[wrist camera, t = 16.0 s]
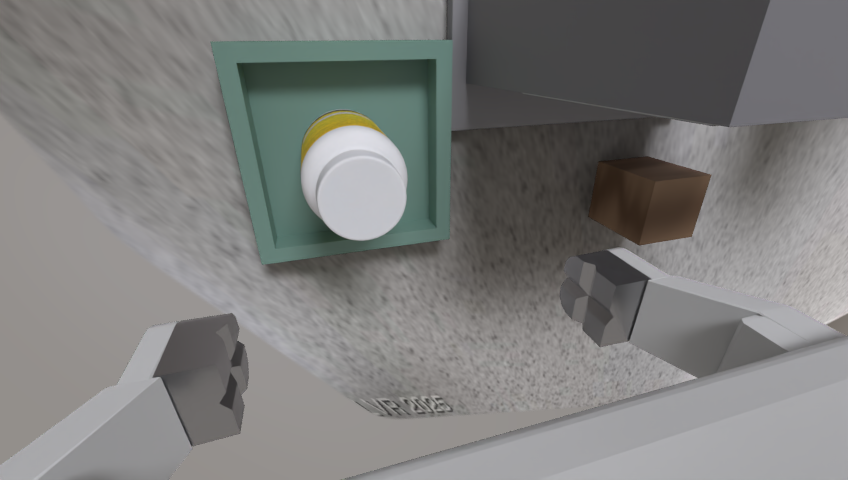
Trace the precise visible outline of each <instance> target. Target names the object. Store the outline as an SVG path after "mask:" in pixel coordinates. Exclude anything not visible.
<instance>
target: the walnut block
mask: <svg viewBox="0 0 848 480" xmlns="http://www.w3.org/2000/svg"><path fill="white" fill-rule="evenodd" d="M710 178H711V175H710V174H706V173H703V172H700V171H696V170H693V169H689V168H686V167H682V166H679V165H675V164H672V163H669V162H665V161H662V160H658V159H655V158H651V157H638V158H628V159H618V160H608V161H599V162H598V167H597V173H596V178H595V184H594V189H593V194H592V200H591V205H590V211H589V216H588V217H590V218H591V219H593V220H595V221H597V222H599V223H600V224H602V225H604V226H606V227H607V228H609V229H611V230H613V231H615V232H616V233H618V234H620V235H622V236H623V237H625V238H627V239H629V240H631V241H632V242H634V243H636V244H638V245H644V244H650V243H656V242H662V241H668V240H674V239H680V238H686V237H692V234H693V231H694V228H695V225H696V221H697V218H698V215H699V212H700V209H701V206H702V203H703V200H704V196H705V193H706V190H707V187H708V184H709V181H710Z"/></svg>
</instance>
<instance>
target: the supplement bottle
mask: <svg viewBox="0 0 848 480" xmlns="http://www.w3.org/2000/svg"><path fill="white" fill-rule="evenodd" d="M300 178H301V185H302V191H303V194H304V197H305V199H306V201H307V203H308V205H309V206H310V208H311V209H312V210H313V212H314V213H315V214H316V215H317V216H318V217H319V218H321V219H322V220H323V221H324V223H325V224H326V225H327V226H328V227H329V228H330V229H331V230H332V231H333V232H334V233H336V234H338V235H339V236H341V237H344V238H347V239H350V240H356V241H365V240H371V239H375V238H378V237H380V236H382V235H384V234H386V233H387V232H389V231H390V230H391V229H392V228H393V227H394V226H395V225H396V224H397V223H398V222H399V220H400V219H401V217H402V215H403V212H404V210H405V206H406V199H407V195H406V189H407V181H408V176H407V169H406V165H405V162H404V159H403V157H402V155H401V153H400V151H399V150H398V148H397V147H396V146H395V145H394V144H393V142H392V141H391V140H390V139H389V138H388V137H387V136H386V135H385V134H384V133H383V132H382V131H381V130H380V129H379V127H378V126H377V125H376V124H375V123H374V122H373V121H372V120H371V119H369V118H368V117H367V116H365V115H363V114H361V113H359V112H356V111H353V110H348V109H338V110H332V111H329V112H326V113H324V114H322V115H321V116H319V117H318V118H317V119H315V120H314V121H313V122H312V124H311V125H310V126H309V127H308V129H307V131H306V133H305V135H304V138H303V141H302V148H301V171H300Z"/></svg>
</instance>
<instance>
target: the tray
mask: <svg viewBox="0 0 848 480" xmlns="http://www.w3.org/2000/svg"><path fill="white" fill-rule="evenodd" d="M211 46H212V51H213V55H214V59H215V64H216V68H217V72H218V77H219V81H220V85H221V90H222V94H223V98H224V103H225V107H226V111H227V115H228V120H229V124H230V128H231V133H232V137H233V141H234V146H235V150H236V154H237V159H238V163H239V167H240V172H241V176H242V180H243V185H244V189H245V193H246V198H247V202H248V206H249V211H250V215H251V219H252V224H253V228H254V232H255V237H256V241H257V245H258V250H259V254H260V258H261V263H262V265H264V264H272V263H279V262H286V261H293V260H301V259H308V258H315V257H322V256H330V255H337V254H344V253H351V252H359V251H366V250H373V249H380V248H388V247H395V246H402V245H409V244H417V243H424V242H431V241H438V240H445V239H450V178H451V115H452V52H453V40H361V41H226V42H211ZM338 109H348V110H353V111H356V112H359V113H361V114H363V115H365V116H367V117H368V118H369V119H371V120H372V121H373V122H374V123H375V124H376V125H377V126H378V127H379V129H380V130H381V131H382V132H383V133H384V134H385V135H386V136H387V137H388V138H389V139H390V140H391V141H392V142H393V144H394V145H395V146H396V147H397V148H398V150H399V151H400V153H401V155H402V157H403V159H404V162H405V165H406V169H407V176H408V181H407V189H406V195H407V199H406V206H405V210H404V212H403V215H402V217H401V219H400V220H399V222H398V223H397V224H396V225H395V226H394V227H393V228H392V229H391V230H390V231H389V232H387V233H386V234H384V235H382V236H380V237H378V238H375V239H371V240H365V241H356V240H350V239H347V238H344V237H341V236H339V235H338V234H336V233H334V232H333V231H332V230H331V229H330V228H329V227H328V226H327V225H326V224H325V223H324V221H323V220H322V219H321V218H319V217H318V216H317V215H316V214H315V213H314V212H313V210H312V209H311V208H310V206H309V205H308V203H307V201H306V199H305V197H304V194H303V191H302V185H301V178H300V171H301V148H302V141H303V138H304V135H305V133H306V131H307V129H308V127H309V126H310V125H311V124H312V122H313V121H314V120H315V119H317V118H318V117H319V116H321V115H322V114H324V113H326V112H329V111H332V110H338Z"/></svg>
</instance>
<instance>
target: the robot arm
mask: <svg viewBox="0 0 848 480" xmlns="http://www.w3.org/2000/svg"><path fill="white" fill-rule="evenodd" d="M564 272H565V274H566V275H567V278H566V280H565V281H564V282H563V284H562V285H561V290H560V300H561V304H562V307H563V309H564V310H565V312H566V313H567V314H568V316H569V317H570V318H571V319H573V320H576V321H578V322H580V323H582V327H583V331H584V332H585V333H586V334H587V335H588V336H589V337H590V338H591V339H592V340H593V341H594V342H595V343H596V344H597V345H598V346H599V347H603V346H608V345H613V344H617V343H622V342H627V341H629V343H631V344H633V345H635V346H637V347H639V348H641V349H642V350H644V351H646V352H648V353H650V354H652V355H654V356H656V357H658V358H660V359H662V360H664V361H666V362H668V363H670V364H672V365H674V366H676V367H678V368H680V369H681V370H683V371H685V372H687V373H689V374H691V375H693V376H695V377H697V379H693V380H690V381H686V382H683V383H679V384H676V385H672V386H669V387H665V388H661V389H658V390H654V391H651V392H647V393H644V394H640V395H637V396H633V397H630V398H626V399H623V400H619V401H616V402H612V403H609V404H605V405H602V406H598V407H595V408H592V409H588V410H584V411H581V412H577V413H574V414H571V415H567V416H563V417H560V418H556V419H553V420H549V421H545V422H542V423H538V424H535V425H531V426H528V427H525V428H521V429H517V430H514V431H510V432H507V433H504V434H500V435H496V436H493V437H490V438H486V439H482V440H479V441H475V442H472V443H468V444H465V445H461V446H458V447H454V448H451V449H447V450H444V451H440V452H437V453H433V454H430V455H426V456H423V457H419V458H416V459H412V460H409V461H406V462H402V463H398V464H395V465H391V466H388V467H384V468H381V469H377V470H374V471H370V472H367V473H363V474H360V475H356V476H352V477H349V478H345V479H342V480H848V336H846V335H844V334H842V333H840V332H838V331H837V330H834V329H833V328H831V327H829V326H827V325H825V324H823V323H822V322H820V321H818V320H816V319H814V318H812V317H810V316H808V315H806V314H805V313H803V312H801V311H799V310H797V309H795V308H793V307H791V306H789V305H786V304H782V303H778V302H774V301H771V300H767V299H763V298H759V297H756V296H752V295H748V294H744V293H740V292H737V291H733V290H729V289H725V288H722V287H718V286H714V285H710V284H707V283H703V282H699V281H695V280H691V279H688V278H684V277H680V276H676V275H673V276H669V275H668V274H666V273H664V272H663V271H661V270H660V269H658V268H656V267H655V266H653V265H651V264H650V263H648V262H647V261H645V260H643V259H642V258H640V257H638V256H637V255H635V254H634V253H632V252H630V251H629V250H627V249H625V248H621V247H617V248H612V249H607V250H602V251H599V252H593V253H588V254H583V255H577V256H572V257H569V258H568V260H567V261H566V263H565V268H564ZM238 333H239V326H238V323H237V320H236V317H235V316H234V315H233V314H232V313H230V314H223V315H217V316H209V317H203V318H196V319H189V320H183V321H180V322H179V321H176V322H170V323H164V324H158V325H153V326H151V327H149V328H148V329H147V330H146V332H145V333H144V336H143V337H142V339H141V341H140V343H139V344H138V346H137V348H136V350H135V352H134V354H133V355H132V357H131V359H130V361H129V363H128V365H127V366H126V368H125V370H124V372H123V374H122V376H121V377H120V379H119V381H118V383H117V385H115V386H111V387H106V388H105V389H104V390H102V391H101V392H99V393H98V394H97V395H95V396H94V397H93V398H91V399H90V400H89V401H87V402H86V403H84V404H83V405H82V406H80V407H79V408H78V409H76V410H75V411H74V412H72V413H71V414H70V415H68V416H67V417H66V418H64V419H63V420H61V421H60V422H59V423H57V424H56V425H54V426H53V427H52V428H50V429H49V430H48V431H46V432H45V433H44V434H42V435H41V436H39V437H38V438H37V439H35V440H34V441H33V442H31V443H30V444H29V445H27V446H26V447H24V448H23V449H22V450H20V451H19V452H18V453H16V454H15V455H14V456H12V457H11V458H10V459H8V460H7V461H5V462H4V463H3V464H1V465H0V480H169V479H170V477H171V476H172V475H173V473H174V472H175V471H176V469H177V468H178V467H179V466H180V464H181V463H182V462H183V461H184V459H185V458H186V457H187V455H188V454H189V453H190V451H191V450H192V446H195V445H199V444H203V443H206V442H210V441H214V440H217V439H222V438H225V437H229V436H233V435H236V434H240V431H241V424H242V419H243V412H244V402H243V399H242V396H241V395H242V394H243V393H244V392H245V390H246V389H247V386H248V379H249V371H248V370H249V369H248V359H247V353H246V350H245V346H244V344H242V343H240V342H239V341H237V338H238Z"/></svg>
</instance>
